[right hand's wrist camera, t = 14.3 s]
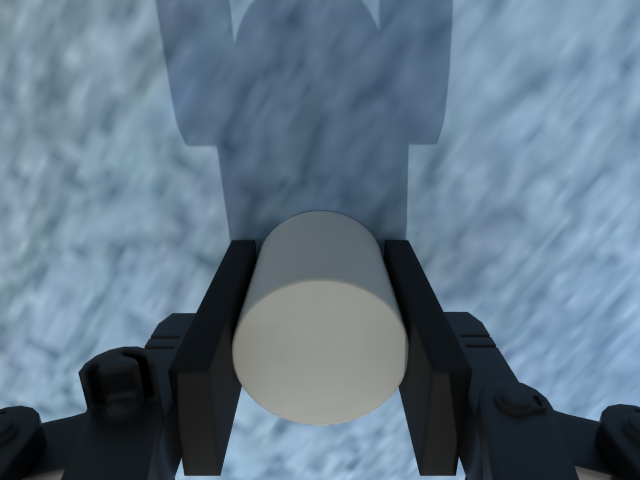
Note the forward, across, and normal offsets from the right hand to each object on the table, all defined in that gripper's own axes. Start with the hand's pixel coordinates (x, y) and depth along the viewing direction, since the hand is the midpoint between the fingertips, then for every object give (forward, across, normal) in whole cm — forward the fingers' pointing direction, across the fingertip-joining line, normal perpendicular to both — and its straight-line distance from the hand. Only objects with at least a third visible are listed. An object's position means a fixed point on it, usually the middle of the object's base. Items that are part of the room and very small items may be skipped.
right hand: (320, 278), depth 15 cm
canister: (0, 0, 0) cm, 0 cm away
